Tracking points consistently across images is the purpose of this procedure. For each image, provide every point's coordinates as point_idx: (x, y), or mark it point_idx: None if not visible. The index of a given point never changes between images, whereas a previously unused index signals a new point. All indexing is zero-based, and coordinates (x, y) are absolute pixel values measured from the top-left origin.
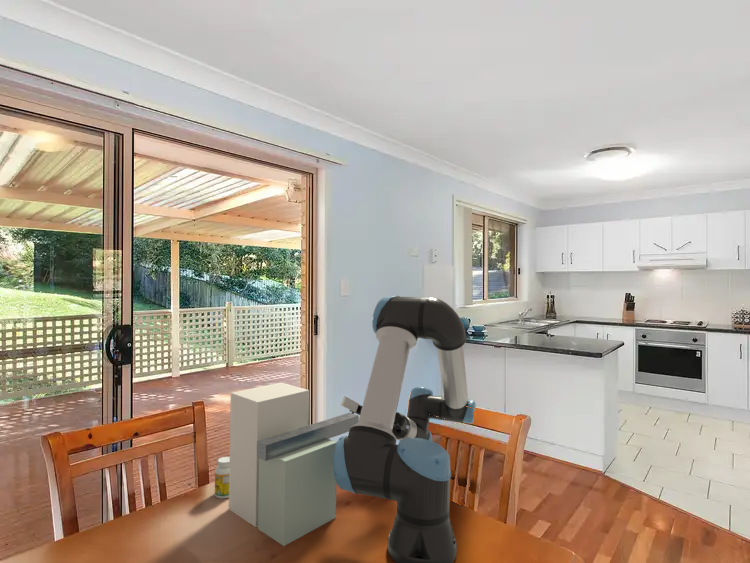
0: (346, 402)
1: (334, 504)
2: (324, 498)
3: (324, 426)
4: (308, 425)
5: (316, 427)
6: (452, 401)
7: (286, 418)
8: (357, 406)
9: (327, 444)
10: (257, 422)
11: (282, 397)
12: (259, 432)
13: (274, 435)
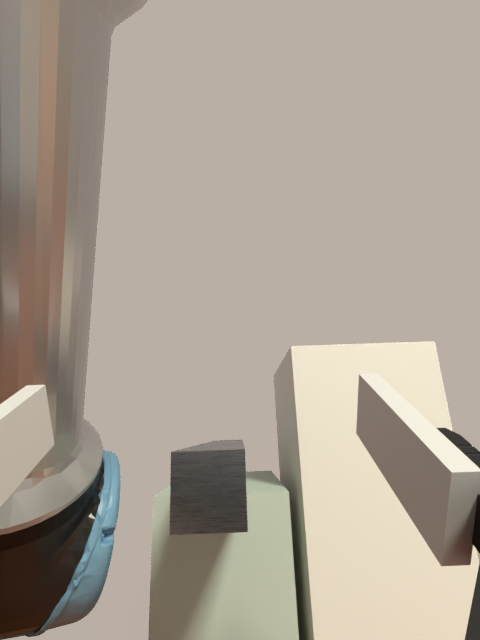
0: (366, 417)
1: None
2: None
3: (200, 444)
4: (242, 442)
5: (212, 443)
6: None
7: (285, 422)
8: (442, 498)
9: (169, 491)
10: (276, 415)
11: (280, 367)
12: (278, 438)
13: (283, 457)
